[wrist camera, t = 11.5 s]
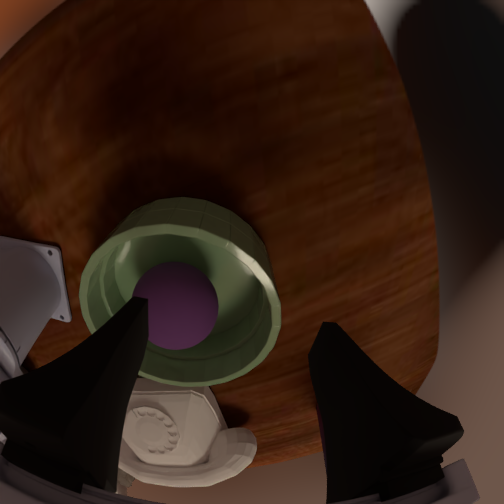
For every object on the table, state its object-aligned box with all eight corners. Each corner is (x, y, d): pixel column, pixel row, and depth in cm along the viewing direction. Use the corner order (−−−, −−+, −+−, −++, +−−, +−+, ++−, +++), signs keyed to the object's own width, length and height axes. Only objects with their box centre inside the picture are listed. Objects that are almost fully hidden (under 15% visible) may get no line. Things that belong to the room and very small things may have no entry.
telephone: (259, 436, 35) (264, 494, 26) (128, 437, 35) (119, 488, 27) (241, 369, 28) (245, 451, 19) (75, 374, 28) (50, 436, 19)
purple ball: (147, 304, 23) (122, 355, 18) (147, 239, 20) (114, 285, 15) (217, 318, 23) (207, 375, 18) (228, 254, 21) (218, 307, 15)
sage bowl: (113, 325, 24) (94, 369, 20) (106, 184, 19) (70, 210, 14) (252, 347, 26) (257, 394, 21) (289, 211, 20) (307, 245, 16)
